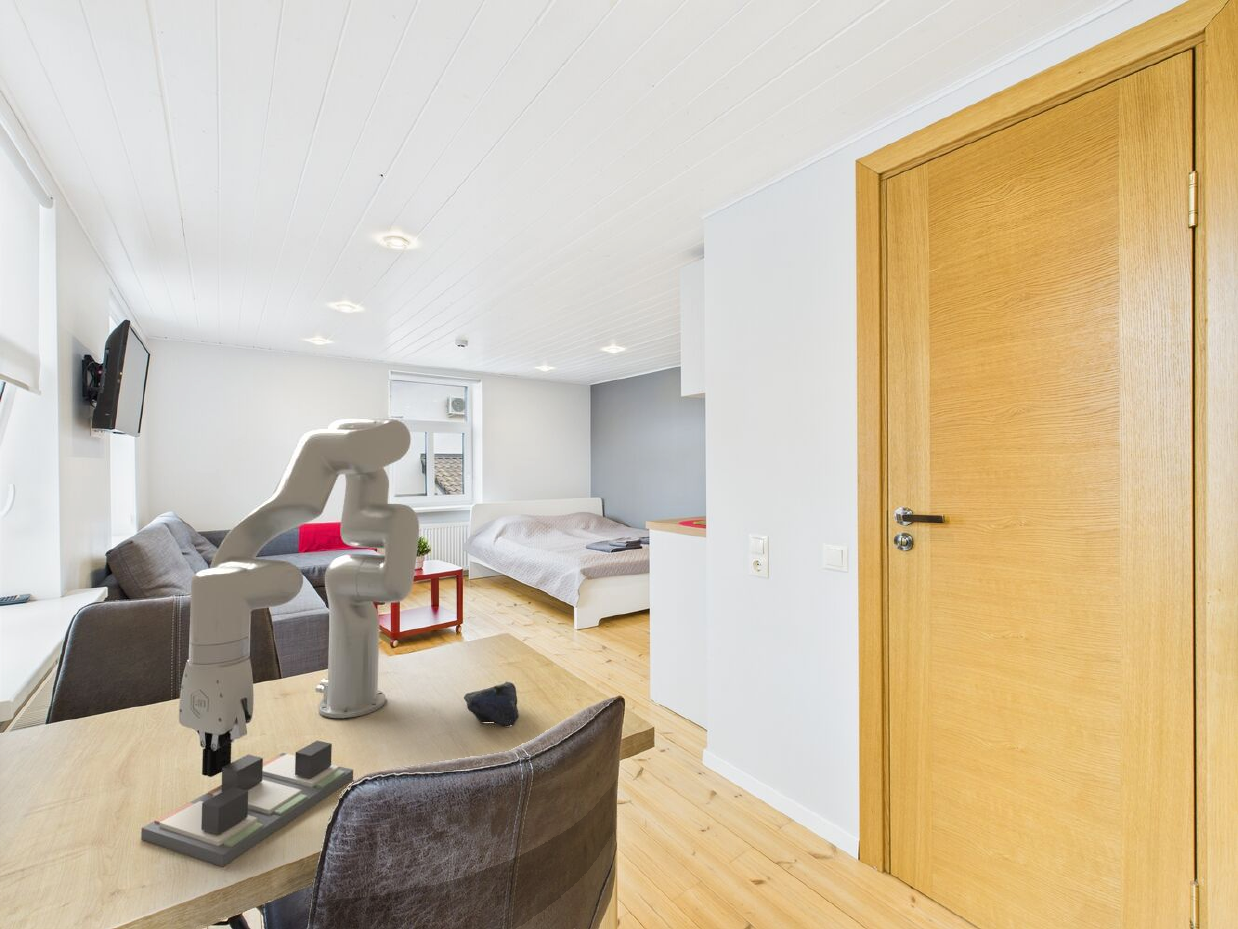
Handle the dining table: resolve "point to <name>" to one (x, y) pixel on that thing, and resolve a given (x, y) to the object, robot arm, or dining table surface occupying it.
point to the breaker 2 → (313, 759)
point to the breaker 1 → (224, 810)
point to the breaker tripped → (242, 773)
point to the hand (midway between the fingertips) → (216, 771)
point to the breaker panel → (266, 812)
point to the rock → (494, 704)
